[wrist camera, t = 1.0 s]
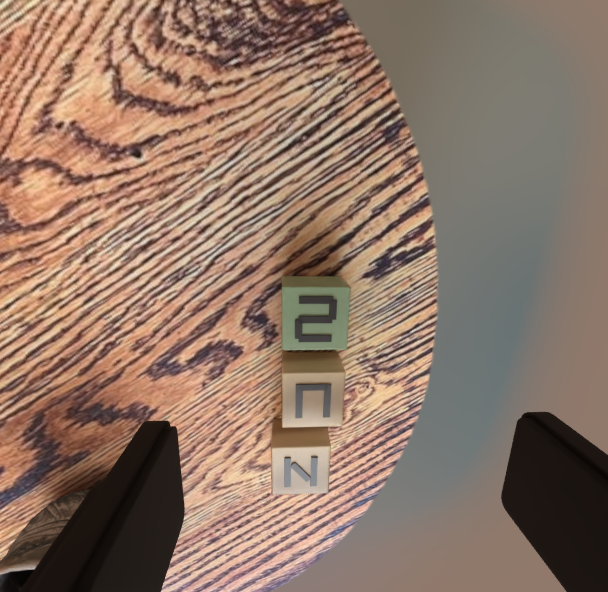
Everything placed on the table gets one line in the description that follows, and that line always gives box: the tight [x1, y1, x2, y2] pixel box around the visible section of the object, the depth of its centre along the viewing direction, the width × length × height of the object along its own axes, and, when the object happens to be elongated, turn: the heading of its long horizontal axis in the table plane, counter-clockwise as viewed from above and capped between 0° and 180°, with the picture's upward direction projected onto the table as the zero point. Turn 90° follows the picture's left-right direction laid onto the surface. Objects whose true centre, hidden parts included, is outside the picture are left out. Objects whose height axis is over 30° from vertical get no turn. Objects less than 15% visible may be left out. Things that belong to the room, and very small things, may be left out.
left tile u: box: [282, 352, 345, 428], centre depth 22 cm, size 4×4×3 cm
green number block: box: [282, 276, 351, 350], centre depth 20 cm, size 4×4×3 cm
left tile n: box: [271, 419, 331, 495], centre depth 23 cm, size 4×4×3 cm
